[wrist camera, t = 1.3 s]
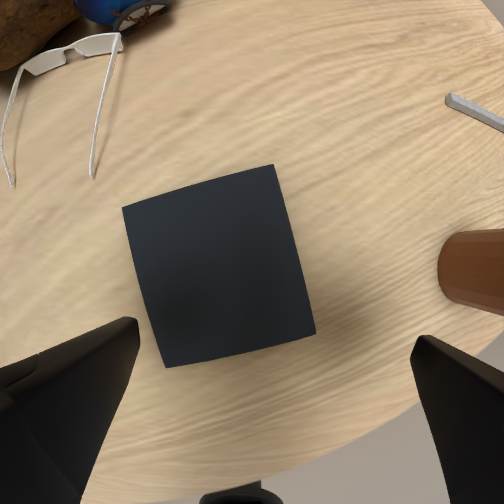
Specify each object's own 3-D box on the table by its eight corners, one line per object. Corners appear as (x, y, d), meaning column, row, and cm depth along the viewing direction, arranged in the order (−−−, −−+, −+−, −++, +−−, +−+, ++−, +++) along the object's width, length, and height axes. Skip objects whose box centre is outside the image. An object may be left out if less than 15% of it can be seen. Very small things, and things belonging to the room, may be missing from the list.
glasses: (131, 44, 21) (120, 26, 18) (105, 178, 21) (87, 170, 18) (34, 72, 21) (20, 61, 18) (6, 189, 22) (-13, 185, 18)
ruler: (445, 97, 21) (446, 105, 21) (450, 92, 20) (452, 100, 20) (517, 134, 21) (519, 141, 21) (523, 131, 20) (525, 138, 20)
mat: (315, 332, 22) (316, 334, 21) (167, 365, 22) (165, 368, 21) (272, 165, 22) (273, 163, 21) (124, 208, 22) (121, 207, 21)
